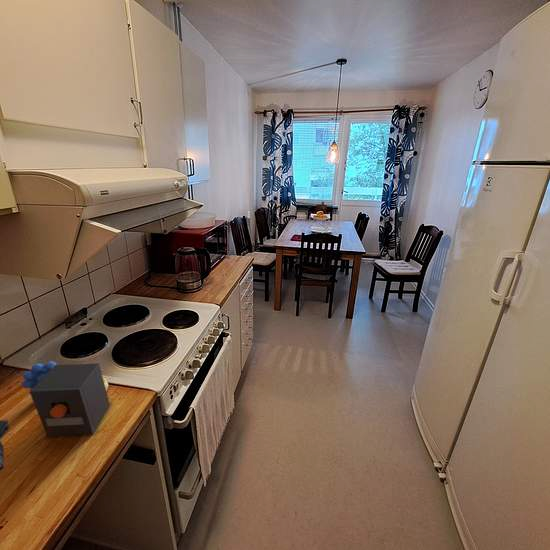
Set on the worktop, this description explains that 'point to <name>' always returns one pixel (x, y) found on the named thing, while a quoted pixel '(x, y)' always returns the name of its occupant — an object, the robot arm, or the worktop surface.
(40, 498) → the worktop surface
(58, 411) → the power button
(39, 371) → the grapes
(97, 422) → the push button control box
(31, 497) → the worktop surface
